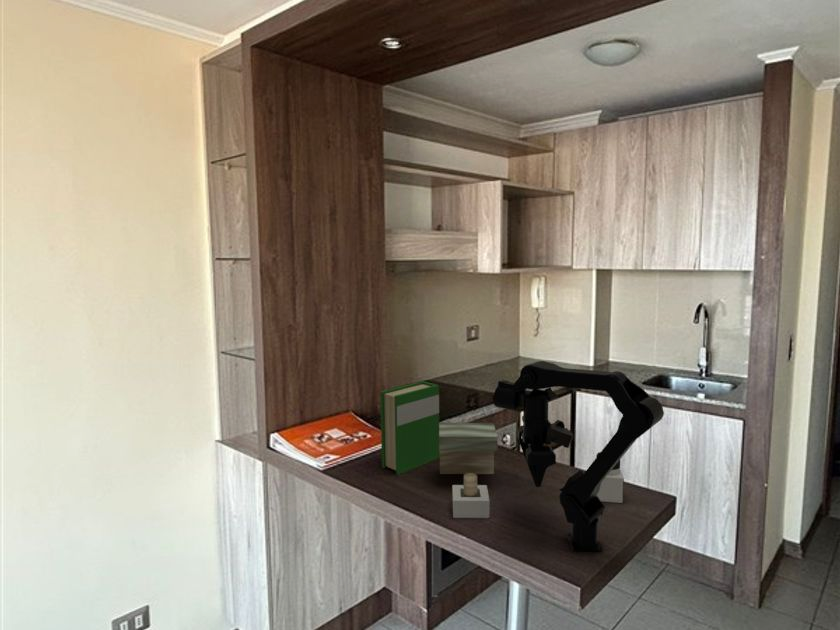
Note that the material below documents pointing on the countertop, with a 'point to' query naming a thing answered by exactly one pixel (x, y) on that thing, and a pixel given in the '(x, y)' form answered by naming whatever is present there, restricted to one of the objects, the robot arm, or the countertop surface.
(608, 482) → the medicine bottle
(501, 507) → the countertop surface
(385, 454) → the hardback book
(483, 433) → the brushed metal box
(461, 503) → the socket block
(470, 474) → the peg
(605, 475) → the robot arm
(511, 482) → the countertop surface
